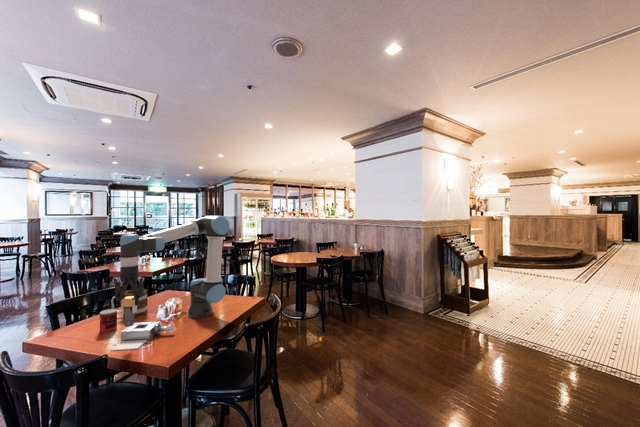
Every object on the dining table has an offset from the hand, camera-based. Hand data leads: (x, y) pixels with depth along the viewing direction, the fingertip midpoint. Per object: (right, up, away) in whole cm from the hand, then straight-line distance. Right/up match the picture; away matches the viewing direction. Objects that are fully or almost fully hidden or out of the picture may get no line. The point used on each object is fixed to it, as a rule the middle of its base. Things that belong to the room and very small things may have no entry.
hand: (129, 312), depth 138 cm
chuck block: (+3, -17, +12) cm, 21 cm away
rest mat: (0, -17, 0) cm, 17 cm away
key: (0, -7, 0) cm, 7 cm away
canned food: (-25, -17, +18) cm, 35 cm away
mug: (-29, -17, +42) cm, 54 cm away
